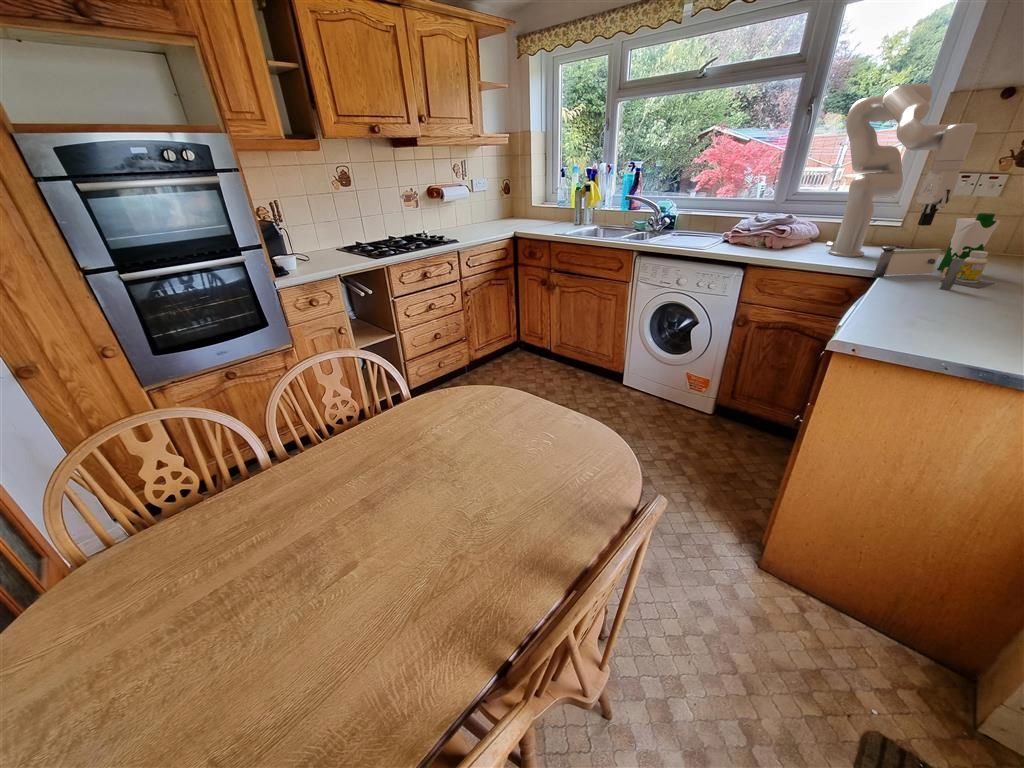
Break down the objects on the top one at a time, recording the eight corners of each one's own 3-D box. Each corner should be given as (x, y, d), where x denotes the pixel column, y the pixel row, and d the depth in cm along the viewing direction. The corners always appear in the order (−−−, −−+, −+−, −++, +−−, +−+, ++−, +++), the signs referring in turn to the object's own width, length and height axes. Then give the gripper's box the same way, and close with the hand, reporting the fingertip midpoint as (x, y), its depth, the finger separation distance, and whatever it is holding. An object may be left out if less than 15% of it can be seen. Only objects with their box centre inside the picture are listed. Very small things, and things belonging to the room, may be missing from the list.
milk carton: (951, 275, 152) (978, 215, 142) (931, 269, 160) (956, 211, 150) (978, 275, 151) (1007, 214, 142) (957, 269, 159) (983, 211, 149)
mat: (940, 281, 146) (940, 280, 146) (956, 277, 149) (956, 276, 149) (978, 288, 138) (978, 287, 138) (994, 283, 141) (995, 282, 141)
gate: (887, 275, 152) (897, 251, 148) (882, 274, 154) (891, 250, 150) (934, 274, 152) (944, 250, 148) (928, 272, 154) (938, 248, 150)
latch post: (935, 288, 139) (948, 258, 135) (940, 287, 140) (953, 257, 135) (945, 290, 137) (959, 260, 132) (950, 289, 138) (964, 259, 133)
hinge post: (869, 275, 155) (879, 246, 150) (875, 274, 156) (886, 245, 151) (881, 278, 152) (891, 248, 147) (887, 276, 153) (898, 247, 148)
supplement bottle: (980, 283, 140) (995, 253, 136) (959, 282, 142) (972, 253, 138) (973, 279, 145) (986, 250, 140) (952, 278, 147) (965, 249, 142)
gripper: (919, 166, 150) (899, 222, 158) (948, 167, 137) (925, 228, 145) (944, 166, 148) (922, 222, 157) (976, 166, 135) (951, 228, 144)
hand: (924, 225), depth 151 cm, fingers closed
